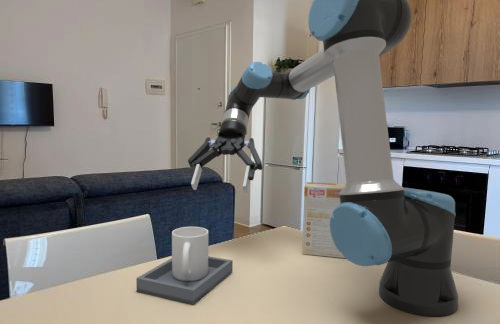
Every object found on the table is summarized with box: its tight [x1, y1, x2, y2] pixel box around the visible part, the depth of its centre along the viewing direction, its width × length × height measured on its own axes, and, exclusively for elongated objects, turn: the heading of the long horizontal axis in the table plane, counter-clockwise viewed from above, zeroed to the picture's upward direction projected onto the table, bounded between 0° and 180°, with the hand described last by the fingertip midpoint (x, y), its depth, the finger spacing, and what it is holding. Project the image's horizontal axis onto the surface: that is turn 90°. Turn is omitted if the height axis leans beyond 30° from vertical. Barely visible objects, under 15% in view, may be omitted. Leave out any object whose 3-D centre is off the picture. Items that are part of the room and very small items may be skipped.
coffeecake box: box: [302, 182, 346, 259], centre depth 105 cm, size 15×7×20 cm, turn 76°
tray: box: [135, 255, 234, 306], centre depth 85 cm, size 14×18×3 cm
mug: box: [171, 226, 209, 281], centre depth 85 cm, size 12×8×10 cm
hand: (218, 188), depth 96 cm, fingers open, 13 cm apart
